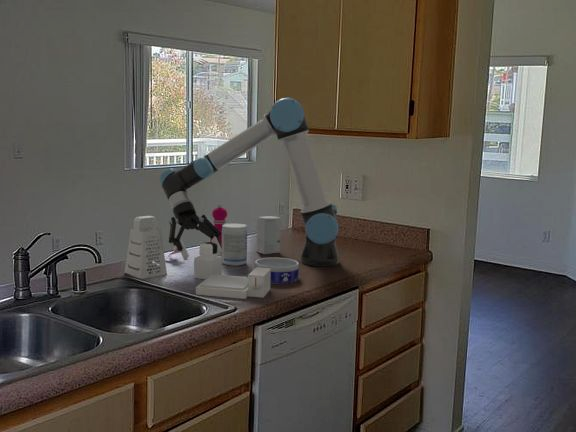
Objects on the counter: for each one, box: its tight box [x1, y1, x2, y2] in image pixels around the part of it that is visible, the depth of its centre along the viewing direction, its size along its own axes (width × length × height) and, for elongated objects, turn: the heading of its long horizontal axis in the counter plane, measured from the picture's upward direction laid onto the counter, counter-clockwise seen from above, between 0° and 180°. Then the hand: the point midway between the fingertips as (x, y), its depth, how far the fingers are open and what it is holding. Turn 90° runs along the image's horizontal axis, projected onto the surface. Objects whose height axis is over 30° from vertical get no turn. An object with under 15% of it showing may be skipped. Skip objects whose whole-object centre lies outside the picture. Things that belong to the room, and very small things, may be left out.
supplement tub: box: [221, 223, 248, 267], centre depth 245 cm, size 10×10×15 cm
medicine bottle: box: [193, 241, 223, 280], centre depth 224 cm, size 7×7×12 cm
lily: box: [165, 237, 188, 262], centre depth 248 cm, size 12×12×10 cm
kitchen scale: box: [195, 267, 271, 300], centre depth 208 cm, size 21×16×7 cm
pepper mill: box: [209, 203, 228, 255], centre depth 263 cm, size 7×7×20 cm
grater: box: [124, 215, 168, 280], centre depth 225 cm, size 10×10×20 cm
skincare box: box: [256, 215, 282, 255], centre depth 267 cm, size 8×6×15 cm
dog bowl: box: [254, 257, 300, 285], centre depth 226 cm, size 15×15×6 cm
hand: (203, 255), depth 224 cm, fingers open, 13 cm apart
